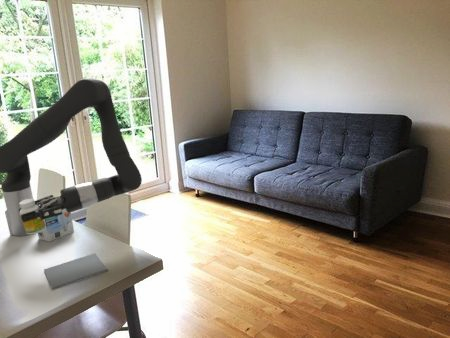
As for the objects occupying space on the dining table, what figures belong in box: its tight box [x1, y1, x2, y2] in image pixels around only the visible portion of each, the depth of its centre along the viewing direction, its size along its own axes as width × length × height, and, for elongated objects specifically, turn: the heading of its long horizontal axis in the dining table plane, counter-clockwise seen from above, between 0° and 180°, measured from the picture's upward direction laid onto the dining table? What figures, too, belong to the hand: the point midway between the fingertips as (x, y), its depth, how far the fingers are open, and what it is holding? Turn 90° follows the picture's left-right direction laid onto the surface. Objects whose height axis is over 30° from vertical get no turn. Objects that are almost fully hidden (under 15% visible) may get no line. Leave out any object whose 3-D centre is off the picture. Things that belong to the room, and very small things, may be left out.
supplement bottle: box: [19, 198, 46, 235], centre depth 110 cm, size 5×5×10 cm
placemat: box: [43, 252, 109, 291], centre depth 109 cm, size 15×13×1 cm
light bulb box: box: [37, 209, 75, 243], centre depth 135 cm, size 11×7×11 cm, turn 148°
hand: (21, 215), depth 109 cm, fingers closed on supplement bottle, 5 cm apart
